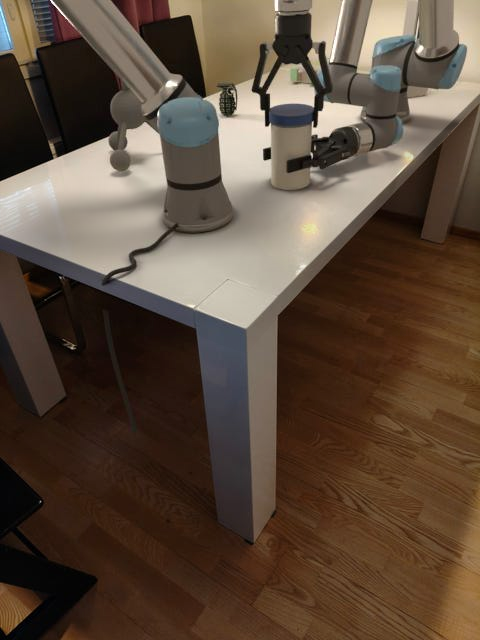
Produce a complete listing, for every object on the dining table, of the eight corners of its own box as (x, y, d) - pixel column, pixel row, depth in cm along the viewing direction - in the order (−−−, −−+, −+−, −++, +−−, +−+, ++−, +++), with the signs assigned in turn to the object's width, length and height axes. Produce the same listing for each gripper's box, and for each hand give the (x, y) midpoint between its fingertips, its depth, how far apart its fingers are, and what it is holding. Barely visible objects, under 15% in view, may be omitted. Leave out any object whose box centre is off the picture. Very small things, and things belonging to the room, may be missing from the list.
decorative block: (312, 54, 215) (354, 57, 206) (311, 70, 219) (352, 74, 210) (281, 65, 199) (325, 69, 190) (281, 83, 203) (324, 87, 194)
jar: (264, 186, 119) (263, 116, 109) (282, 172, 126) (282, 105, 116) (299, 192, 115) (301, 120, 105) (315, 178, 122) (319, 109, 112)
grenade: (217, 117, 168) (214, 86, 162) (221, 112, 172) (219, 82, 166) (235, 117, 166) (233, 86, 160) (239, 113, 171) (238, 82, 165)
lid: (310, 127, 106) (310, 116, 105) (263, 125, 109) (263, 115, 107) (317, 113, 114) (318, 104, 113) (274, 112, 117) (274, 102, 115)
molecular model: (194, 162, 134) (180, 38, 116) (114, 177, 128) (87, 49, 110) (171, 138, 152) (156, 27, 133) (100, 151, 146) (75, 36, 127)
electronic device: (396, 99, 175) (410, -1, 157) (386, 94, 181) (398, -2, 163) (427, 95, 178) (444, -4, 159) (416, 90, 183) (431, -5, 165)
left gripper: (233, 16, 98) (239, 129, 112) (349, 13, 93) (340, 131, 107) (242, 11, 104) (246, 119, 117) (351, 8, 99) (342, 121, 113)
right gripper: (378, 168, 118) (302, 191, 110) (321, 145, 133) (251, 162, 125) (382, 137, 113) (303, 158, 105) (323, 116, 129) (250, 133, 120)
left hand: (291, 125), depth 112 cm, fingers closed on lid, 10 cm apart
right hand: (275, 160), depth 115 cm, fingers closed on jar, 9 cm apart
